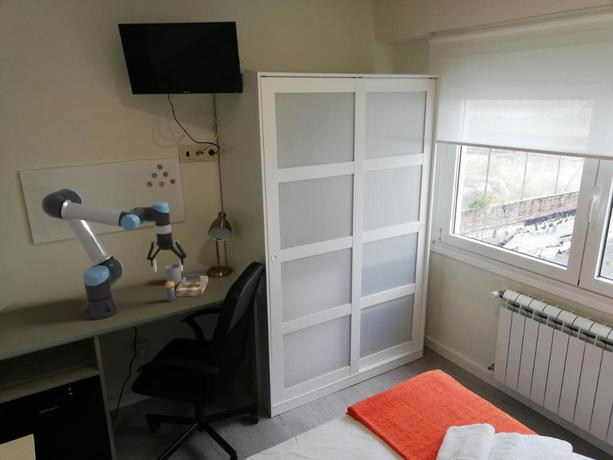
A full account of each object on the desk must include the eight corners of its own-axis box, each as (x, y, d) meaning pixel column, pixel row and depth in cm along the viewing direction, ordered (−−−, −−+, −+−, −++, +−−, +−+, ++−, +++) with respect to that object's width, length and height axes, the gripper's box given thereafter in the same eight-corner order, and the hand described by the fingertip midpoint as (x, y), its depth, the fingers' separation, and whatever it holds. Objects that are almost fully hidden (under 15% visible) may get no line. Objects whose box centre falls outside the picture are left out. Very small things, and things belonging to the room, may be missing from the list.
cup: (167, 280, 271) (165, 264, 269) (181, 278, 274) (179, 263, 271) (167, 285, 264) (165, 269, 261) (181, 283, 266) (180, 267, 263)
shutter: (181, 283, 257) (180, 277, 256) (184, 278, 264) (183, 273, 263) (202, 282, 257) (202, 276, 256) (205, 277, 264) (204, 272, 263)
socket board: (176, 296, 249) (175, 290, 248) (184, 282, 268) (183, 276, 267) (201, 295, 249) (201, 289, 248) (208, 281, 268) (207, 276, 267)
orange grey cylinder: (166, 302, 241) (164, 284, 239) (168, 298, 246) (166, 281, 243) (175, 302, 241) (172, 284, 239) (177, 298, 246) (175, 281, 243)
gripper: (136, 235, 229) (142, 274, 235) (186, 233, 230) (190, 272, 236) (141, 231, 237) (146, 269, 242) (189, 229, 237) (193, 267, 243)
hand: (168, 271), depth 239 cm, fingers open, 13 cm apart
